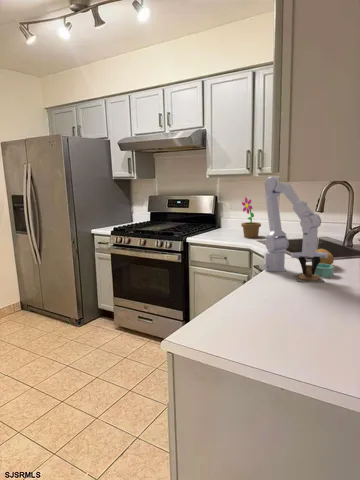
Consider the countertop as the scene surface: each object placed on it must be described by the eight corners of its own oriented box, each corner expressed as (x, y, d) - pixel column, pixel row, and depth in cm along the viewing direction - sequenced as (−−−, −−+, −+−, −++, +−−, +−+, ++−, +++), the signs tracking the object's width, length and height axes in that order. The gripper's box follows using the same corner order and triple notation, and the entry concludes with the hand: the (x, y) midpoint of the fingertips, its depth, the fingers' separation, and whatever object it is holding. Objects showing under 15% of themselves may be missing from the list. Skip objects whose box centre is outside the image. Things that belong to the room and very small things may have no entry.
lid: (299, 281, 136) (300, 268, 135) (295, 274, 145) (295, 262, 144) (322, 281, 135) (322, 268, 134) (316, 275, 144) (316, 263, 143)
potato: (315, 270, 153) (316, 253, 152) (309, 262, 167) (310, 247, 165) (337, 270, 151) (338, 253, 150) (329, 262, 165) (330, 247, 163)
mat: (297, 281, 137) (297, 281, 137) (292, 275, 145) (292, 274, 145) (324, 282, 135) (324, 281, 135) (318, 275, 144) (318, 275, 144)
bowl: (315, 276, 143) (316, 268, 142) (311, 271, 150) (311, 263, 150) (335, 277, 142) (335, 268, 141) (329, 272, 149) (329, 263, 149)
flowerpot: (237, 236, 247) (237, 197, 241) (252, 234, 253) (252, 196, 248) (249, 239, 234) (249, 197, 229) (264, 237, 241) (265, 196, 235)
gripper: (293, 245, 134) (292, 276, 137) (330, 244, 132) (328, 276, 135) (290, 241, 141) (289, 271, 144) (325, 241, 139) (323, 272, 142)
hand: (308, 274), depth 140 cm, fingers closed on lid, 3 cm apart
